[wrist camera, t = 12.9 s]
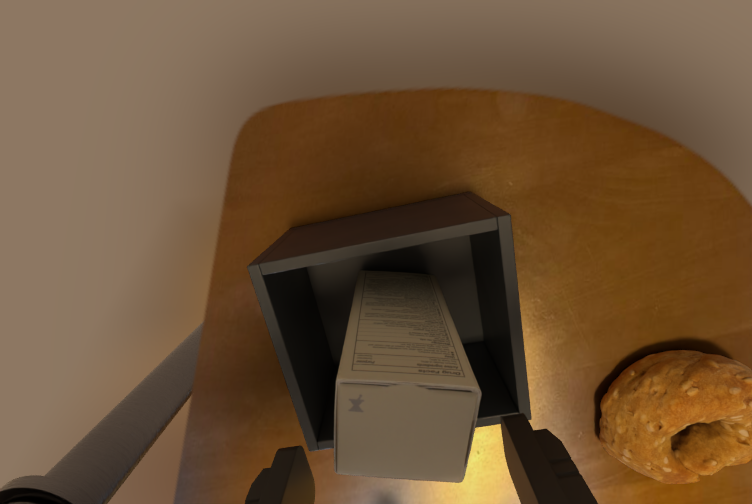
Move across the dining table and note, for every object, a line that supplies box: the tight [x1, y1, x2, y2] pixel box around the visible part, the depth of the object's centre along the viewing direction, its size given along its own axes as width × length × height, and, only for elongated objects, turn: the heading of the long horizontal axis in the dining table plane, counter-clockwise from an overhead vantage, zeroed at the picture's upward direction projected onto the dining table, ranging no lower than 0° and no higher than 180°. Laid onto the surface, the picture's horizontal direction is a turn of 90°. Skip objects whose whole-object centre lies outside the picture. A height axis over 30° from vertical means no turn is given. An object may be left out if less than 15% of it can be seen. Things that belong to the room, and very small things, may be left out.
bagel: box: [599, 350, 752, 484], centre depth 24 cm, size 10×11×5 cm
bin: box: [247, 192, 531, 451], centre depth 21 cm, size 12×11×8 cm
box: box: [334, 271, 482, 483], centre depth 18 cm, size 5×4×11 cm
